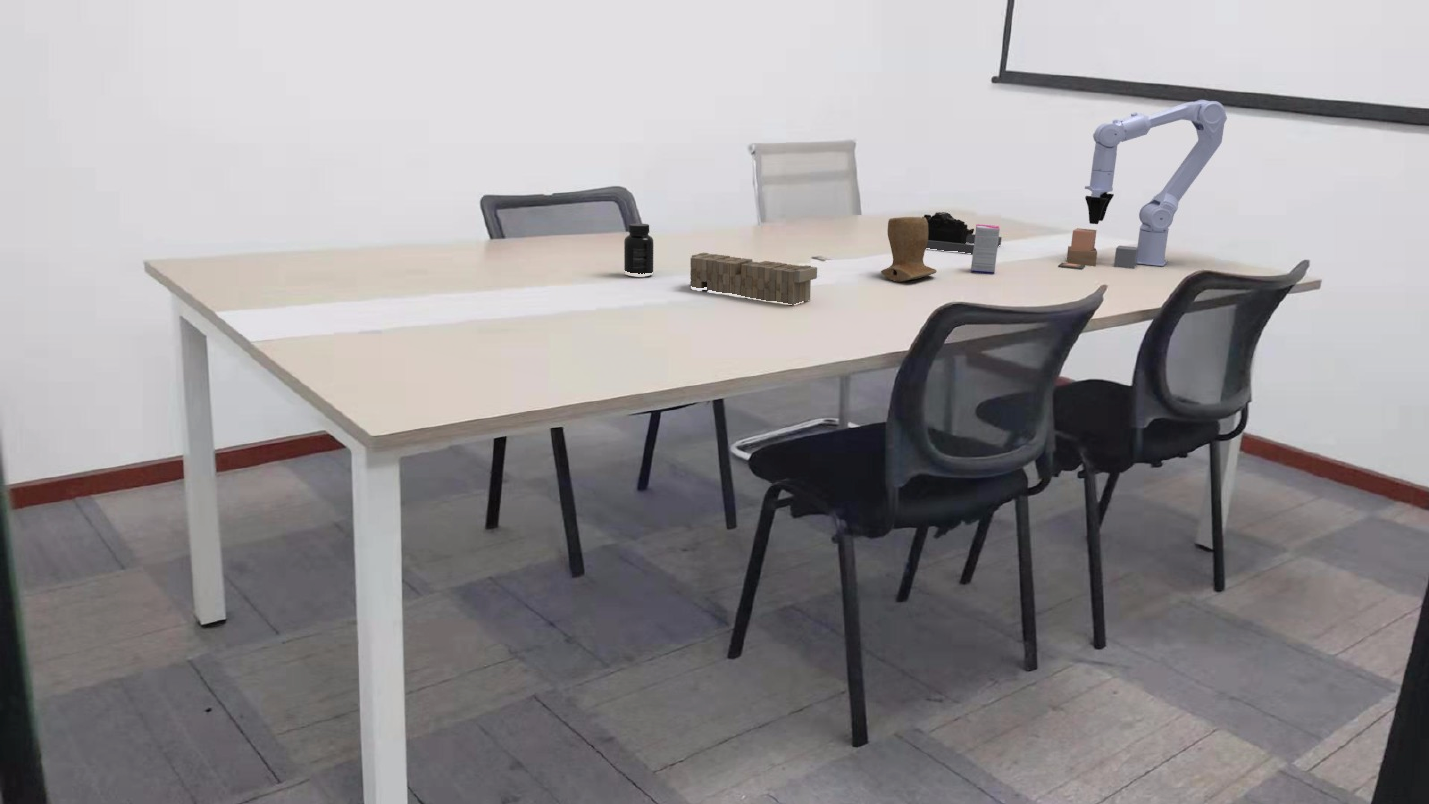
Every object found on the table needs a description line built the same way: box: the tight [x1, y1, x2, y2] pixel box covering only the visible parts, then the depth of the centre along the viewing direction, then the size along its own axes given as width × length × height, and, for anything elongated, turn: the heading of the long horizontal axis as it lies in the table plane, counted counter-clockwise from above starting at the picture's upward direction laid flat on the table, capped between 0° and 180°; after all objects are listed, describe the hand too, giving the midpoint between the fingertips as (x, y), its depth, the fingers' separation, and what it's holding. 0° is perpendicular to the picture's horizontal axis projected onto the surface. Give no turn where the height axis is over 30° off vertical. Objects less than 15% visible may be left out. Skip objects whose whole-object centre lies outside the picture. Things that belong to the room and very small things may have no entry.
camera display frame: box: [926, 233, 1002, 255], centre depth 330 cm, size 20×24×2 cm
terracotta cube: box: [1070, 227, 1097, 251], centre depth 309 cm, size 5×5×5 cm
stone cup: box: [880, 216, 937, 282], centre depth 281 cm, size 15×12×15 cm
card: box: [1057, 262, 1086, 270], centre depth 304 cm, size 5×6×1 cm
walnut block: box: [1066, 245, 1098, 267], centre depth 310 cm, size 7×7×4 cm
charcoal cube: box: [1113, 245, 1139, 270], centre depth 307 cm, size 5×5×5 cm
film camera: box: [923, 211, 975, 244], centre depth 328 cm, size 18×12×10 cm
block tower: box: [689, 252, 818, 305], centre depth 256 cm, size 8×8×29 cm
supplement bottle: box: [623, 222, 654, 274], centre depth 274 cm, size 7×7×12 cm
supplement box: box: [970, 223, 1000, 275], centre depth 292 cm, size 6×6×12 cm
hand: (1096, 222), depth 311 cm, fingers open, 7 cm apart
